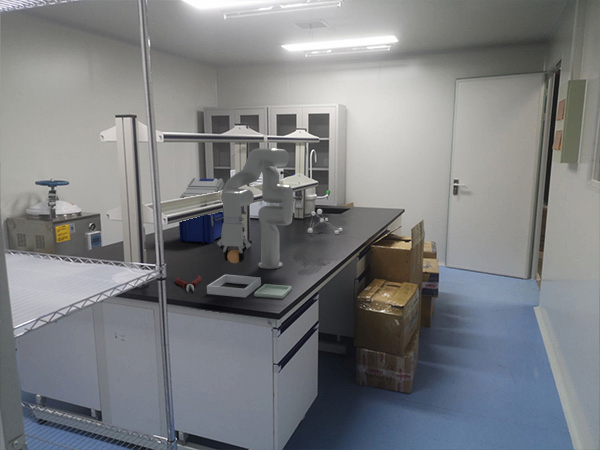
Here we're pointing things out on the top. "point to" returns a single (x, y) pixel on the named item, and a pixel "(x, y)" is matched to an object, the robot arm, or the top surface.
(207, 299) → the top surface
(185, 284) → the pliers
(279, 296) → the tray
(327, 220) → the molecule model
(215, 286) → the grey square frame
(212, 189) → the storage box
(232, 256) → the ball
